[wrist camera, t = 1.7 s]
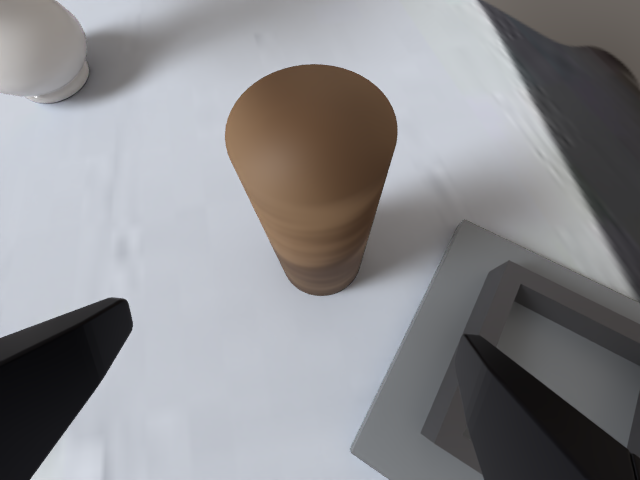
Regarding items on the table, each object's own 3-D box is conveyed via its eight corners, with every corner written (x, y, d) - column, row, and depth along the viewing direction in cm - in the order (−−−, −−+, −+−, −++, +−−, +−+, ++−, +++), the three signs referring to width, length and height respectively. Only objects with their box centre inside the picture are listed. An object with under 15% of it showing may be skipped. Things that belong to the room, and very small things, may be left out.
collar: (657, 662, 15) (751, 747, 11) (350, 448, 18) (354, 466, 15) (708, 345, 19) (784, 341, 16) (458, 225, 23) (479, 201, 20)
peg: (320, 313, 21) (306, 239, 9) (266, 256, 22) (190, 127, 10) (377, 257, 22) (433, 125, 10) (322, 207, 24) (313, 41, 12)
